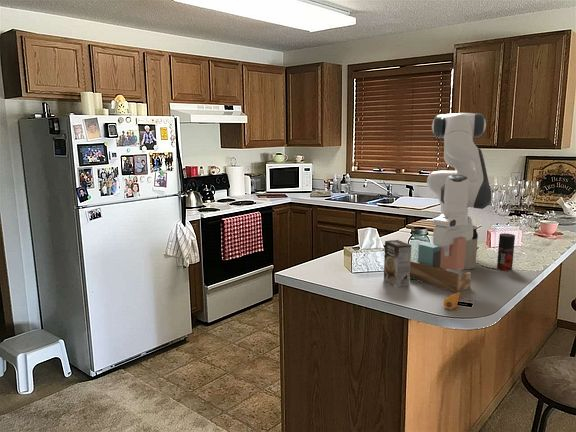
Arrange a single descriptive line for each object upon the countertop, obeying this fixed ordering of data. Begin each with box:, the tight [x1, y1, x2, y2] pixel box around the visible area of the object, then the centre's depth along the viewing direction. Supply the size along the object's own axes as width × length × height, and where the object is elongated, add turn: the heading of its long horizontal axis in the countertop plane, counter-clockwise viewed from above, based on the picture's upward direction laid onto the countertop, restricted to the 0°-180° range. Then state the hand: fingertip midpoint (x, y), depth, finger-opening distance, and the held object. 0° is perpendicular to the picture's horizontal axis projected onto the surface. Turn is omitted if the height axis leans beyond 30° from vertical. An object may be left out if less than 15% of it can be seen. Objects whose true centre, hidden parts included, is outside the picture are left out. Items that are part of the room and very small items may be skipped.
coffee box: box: [383, 239, 412, 287], centre depth 183 cm, size 9×6×16 cm
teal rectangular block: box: [417, 242, 441, 268], centre depth 187 cm, size 5×8×12 cm, turn 36°
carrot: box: [443, 291, 461, 311], centre depth 164 cm, size 20×4×4 cm, turn 150°
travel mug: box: [463, 224, 479, 270], centre depth 202 cm, size 8×8×18 cm
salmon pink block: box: [440, 237, 466, 272], centre depth 178 cm, size 5×8×12 cm, turn 36°
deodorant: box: [496, 232, 516, 272], centre depth 199 cm, size 6×6×15 cm
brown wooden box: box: [409, 260, 472, 294], centre depth 183 cm, size 9×22×7 cm, turn 36°
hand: (452, 254), depth 177 cm, fingers closed on salmon pink block, 5 cm apart
